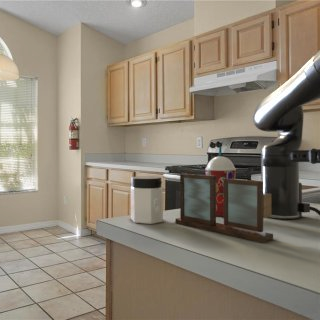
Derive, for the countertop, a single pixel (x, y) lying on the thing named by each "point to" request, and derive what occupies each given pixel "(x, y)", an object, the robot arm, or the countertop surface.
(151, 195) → the jar
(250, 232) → the window frame
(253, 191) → the sash
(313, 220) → the countertop surface
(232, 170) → the smoothie
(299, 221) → the countertop surface
